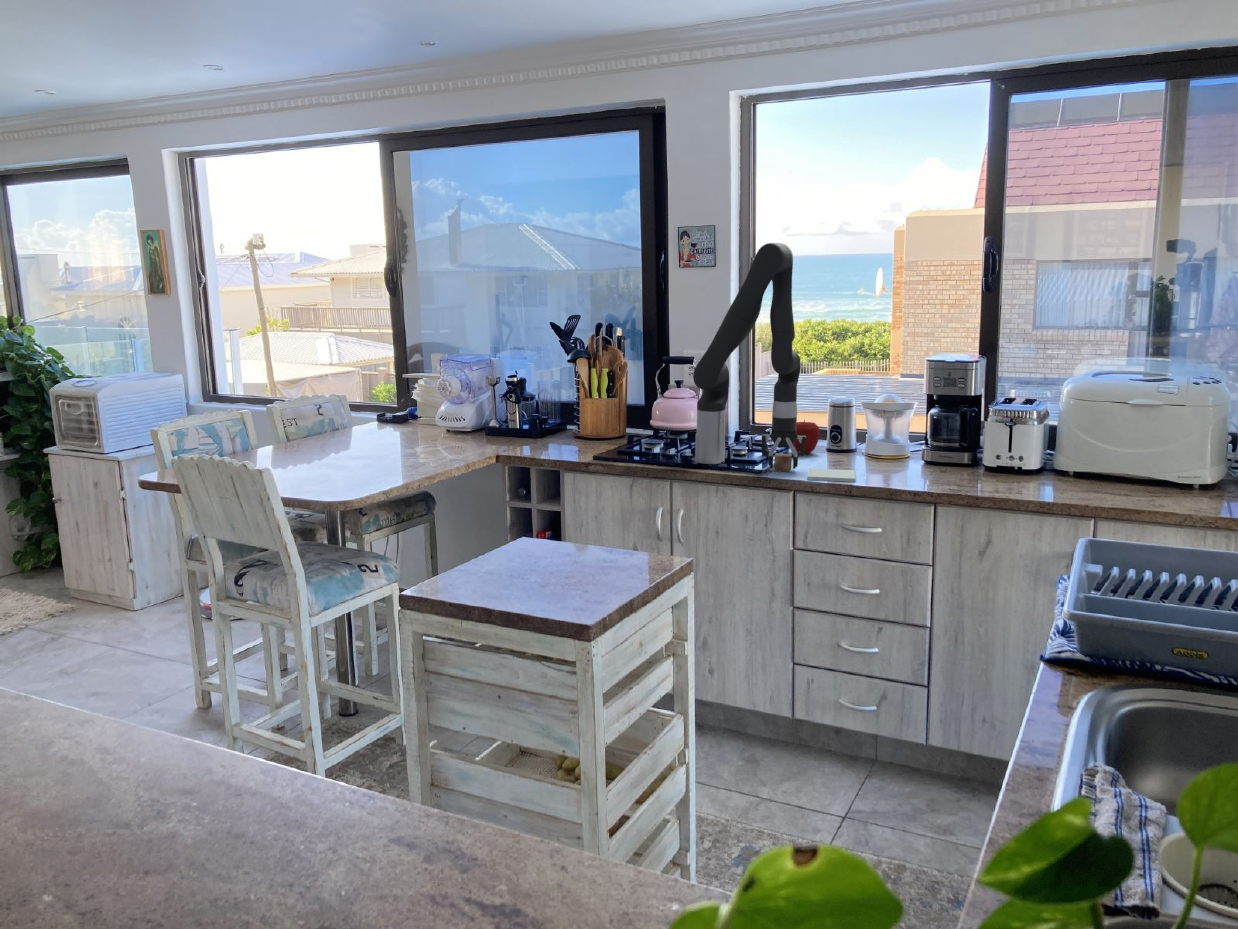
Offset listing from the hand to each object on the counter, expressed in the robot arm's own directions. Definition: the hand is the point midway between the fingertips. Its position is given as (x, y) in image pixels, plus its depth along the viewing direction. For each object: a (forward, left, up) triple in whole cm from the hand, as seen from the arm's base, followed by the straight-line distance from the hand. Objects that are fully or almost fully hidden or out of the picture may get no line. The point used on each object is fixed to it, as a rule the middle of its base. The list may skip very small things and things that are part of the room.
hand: (782, 467), depth 305 cm
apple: (+5, +30, -1) cm, 30 cm away
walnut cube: (0, 0, -1) cm, 1 cm away
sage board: (+15, -6, -1) cm, 16 cm away
